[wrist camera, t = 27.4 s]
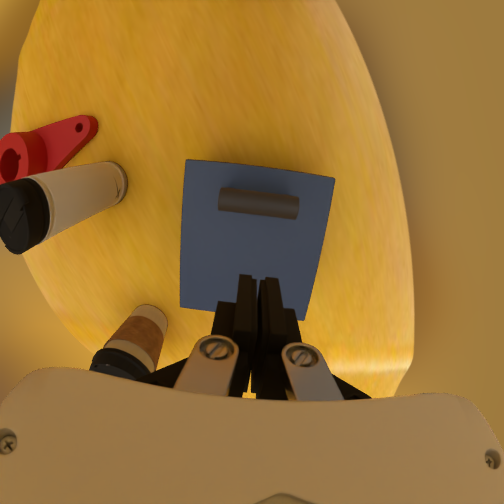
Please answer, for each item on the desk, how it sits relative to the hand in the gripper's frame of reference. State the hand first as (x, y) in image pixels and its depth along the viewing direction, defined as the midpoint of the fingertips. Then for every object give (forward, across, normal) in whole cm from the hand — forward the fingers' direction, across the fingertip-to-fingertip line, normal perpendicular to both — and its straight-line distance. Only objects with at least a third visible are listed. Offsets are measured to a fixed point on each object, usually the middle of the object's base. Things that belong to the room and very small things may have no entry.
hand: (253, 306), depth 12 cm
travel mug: (+25, +20, 0) cm, 32 cm away
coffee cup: (+24, +14, +20) cm, 35 cm away
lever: (+25, +31, -6) cm, 40 cm away
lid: (+16, 0, +3) cm, 16 cm away
